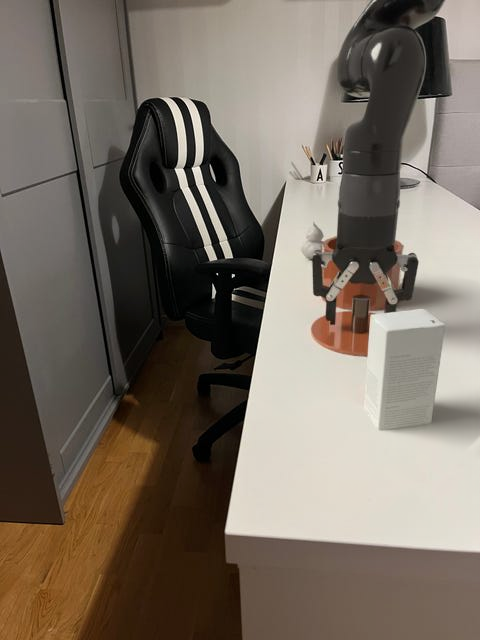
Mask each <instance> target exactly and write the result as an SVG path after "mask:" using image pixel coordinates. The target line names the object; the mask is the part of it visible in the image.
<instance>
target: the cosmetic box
mask: <svg viewBox="0 0 480 640" xmlns="http://www.w3.org/2000/svg"><path fill="white" fill-rule="evenodd" d="M445 331H446V324H445V323H443V322H442V321H441V320H440V319H438V318H437V317H436V316H435V315H433V314H432V313H430V312H429V311H428V310H427V309H425V308H418V309H411V310H410V309H409V310H401V311H396V312H390V313H384V312H383V313H376V314H372V315H371V316H370V329H369V343H368V356H367V358H366V359H367V361H366V374H365V390H364V401H363V402H364V403H363V410H364V412H365V413H366V414H367V416H368V417H369V419H370V420H371V422H372V423H373V425H374V426H375V428H376V429H377V430H378V431H386V430H394V429H401V428H408V427H409V428H410V427H416V426H422V425H430V424H432V421H433V414H434V413H433V412H434V406H435V400H436V393H437V386H438V385H437V384H438V379H439V372H440V365H441V358H442V351H443V343H444V338H445Z"/></svg>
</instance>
